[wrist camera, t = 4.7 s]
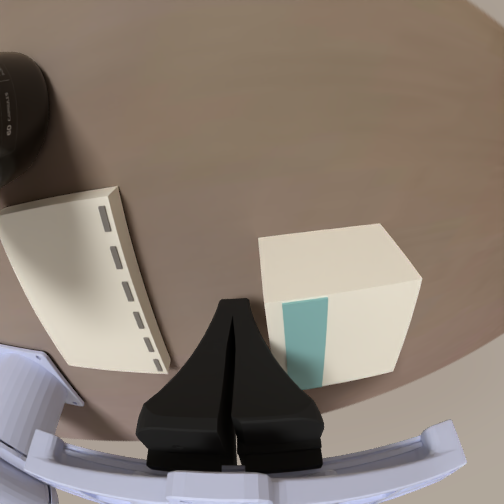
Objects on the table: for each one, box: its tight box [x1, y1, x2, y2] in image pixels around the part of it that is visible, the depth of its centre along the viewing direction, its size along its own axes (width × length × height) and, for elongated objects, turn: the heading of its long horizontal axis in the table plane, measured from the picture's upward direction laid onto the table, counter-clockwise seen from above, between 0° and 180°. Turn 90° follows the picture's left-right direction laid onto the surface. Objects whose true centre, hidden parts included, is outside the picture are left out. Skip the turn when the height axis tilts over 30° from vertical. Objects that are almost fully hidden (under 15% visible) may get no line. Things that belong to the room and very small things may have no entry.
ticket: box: [0, 186, 171, 374], centre depth 15 cm, size 8×12×1 cm, turn 3°
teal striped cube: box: [258, 223, 422, 390], centre depth 13 cm, size 6×6×5 cm
